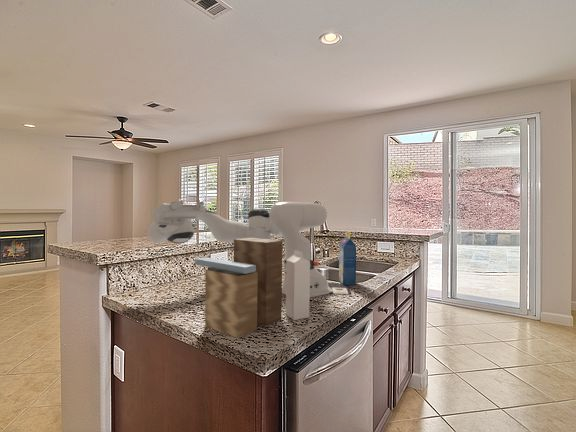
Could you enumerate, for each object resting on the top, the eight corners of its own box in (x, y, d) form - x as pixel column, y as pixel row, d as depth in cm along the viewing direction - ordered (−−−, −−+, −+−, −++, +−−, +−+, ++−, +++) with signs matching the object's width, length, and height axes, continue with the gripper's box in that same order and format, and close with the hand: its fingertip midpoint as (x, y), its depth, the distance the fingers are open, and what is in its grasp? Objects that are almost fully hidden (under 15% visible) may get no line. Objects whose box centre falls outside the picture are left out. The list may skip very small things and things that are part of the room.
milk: (293, 320, 102) (294, 253, 102) (285, 314, 108) (285, 250, 107) (309, 317, 105) (310, 252, 104) (300, 311, 111) (301, 249, 110)
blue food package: (342, 286, 147) (343, 233, 147) (338, 280, 159) (339, 231, 159) (355, 286, 147) (357, 233, 147) (350, 280, 159) (351, 231, 159)
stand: (233, 317, 104) (233, 239, 104) (249, 310, 111) (250, 237, 110) (265, 327, 96) (266, 242, 95) (281, 319, 103) (282, 240, 102)
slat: (195, 264, 101) (195, 259, 101) (206, 262, 105) (206, 257, 105) (245, 273, 88) (245, 267, 88) (255, 271, 92) (255, 265, 92)
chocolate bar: (346, 283, 151) (351, 293, 133) (346, 285, 151) (351, 295, 133) (327, 282, 151) (330, 292, 134) (327, 284, 151) (330, 295, 134)
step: (205, 326, 96) (205, 268, 95) (224, 319, 103) (224, 264, 102) (238, 338, 88) (238, 274, 87) (257, 329, 94) (257, 269, 94)
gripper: (196, 224, 134) (215, 208, 127) (151, 226, 117) (171, 208, 110) (191, 211, 135) (210, 195, 128) (147, 212, 119) (165, 193, 112)
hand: (192, 201), depth 119 cm, fingers open, 8 cm apart
